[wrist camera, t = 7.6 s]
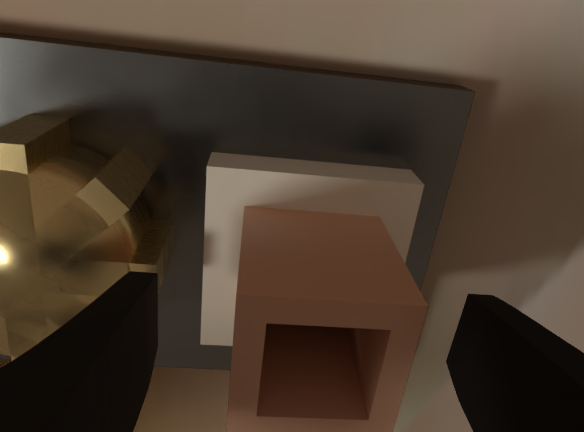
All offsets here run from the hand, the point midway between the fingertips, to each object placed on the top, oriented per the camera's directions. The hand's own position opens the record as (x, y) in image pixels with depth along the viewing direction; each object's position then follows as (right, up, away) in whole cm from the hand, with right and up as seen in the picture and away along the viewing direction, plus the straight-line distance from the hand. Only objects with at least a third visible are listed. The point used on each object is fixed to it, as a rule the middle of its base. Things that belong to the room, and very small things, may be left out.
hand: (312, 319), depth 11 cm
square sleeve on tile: (0, +1, +3) cm, 4 cm away
